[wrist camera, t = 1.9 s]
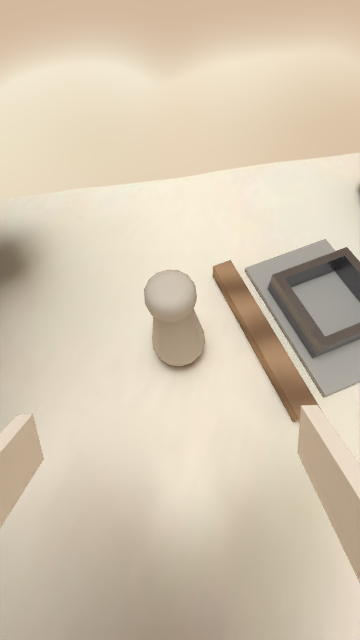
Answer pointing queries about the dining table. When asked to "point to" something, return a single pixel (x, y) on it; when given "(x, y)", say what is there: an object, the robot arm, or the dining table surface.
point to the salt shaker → (174, 317)
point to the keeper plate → (316, 309)
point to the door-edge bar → (263, 341)
